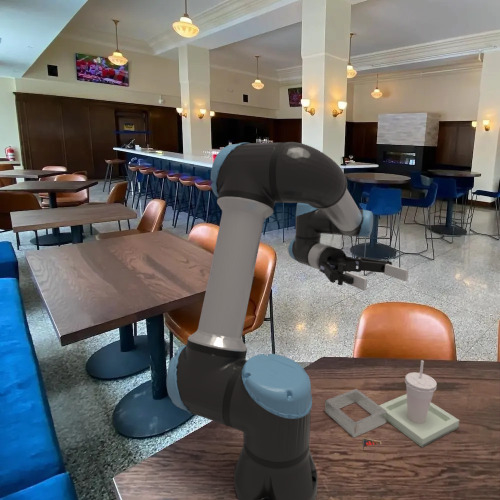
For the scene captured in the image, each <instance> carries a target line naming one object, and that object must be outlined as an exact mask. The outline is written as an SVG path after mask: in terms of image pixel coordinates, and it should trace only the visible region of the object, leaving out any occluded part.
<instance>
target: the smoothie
mask: <svg viewBox="0 0 500 500" xmlns="http://www.w3.org/2000/svg"><path fill="white" fill-rule="evenodd" d="M424 362H425V361H424V360H423V359H422V360H420V367H419V372H413V371H412V372H409V373H407V374H406V375H405V376H404V377H405V379H404V383H405V385H406V394H407V416H408V419H409V420H410V421H412V422H414V423H418V424H422V423H424V422H425V420H426V416H427V413H428V410H429V406H430V403H432V400H433V396H434V392H435V391H436V390H437V389H438V388H437V384H438V383H437V381H436V380H435V379H434V378H433V377H432V376H430V375H428V374H426V373H423V372H424Z"/></svg>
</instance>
